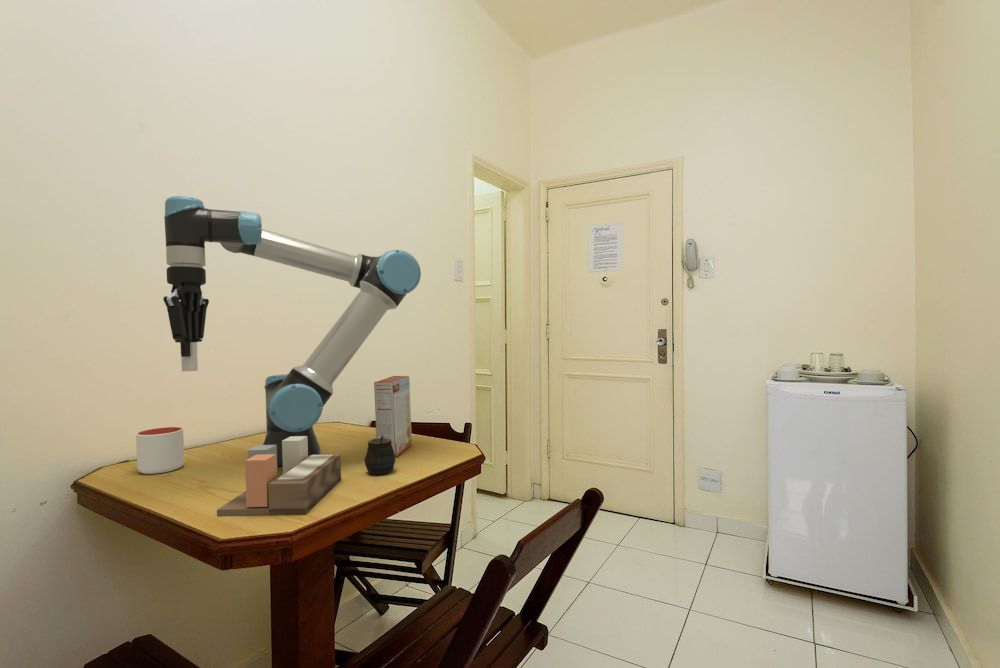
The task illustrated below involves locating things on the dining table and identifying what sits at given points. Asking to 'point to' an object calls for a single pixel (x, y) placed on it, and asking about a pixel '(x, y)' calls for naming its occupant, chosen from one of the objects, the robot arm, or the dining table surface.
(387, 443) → the mate gourd
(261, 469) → the pink tall block
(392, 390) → the cracker box
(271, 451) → the slate key
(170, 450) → the cup
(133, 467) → the dining table surface
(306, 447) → the ivory key
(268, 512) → the key console
